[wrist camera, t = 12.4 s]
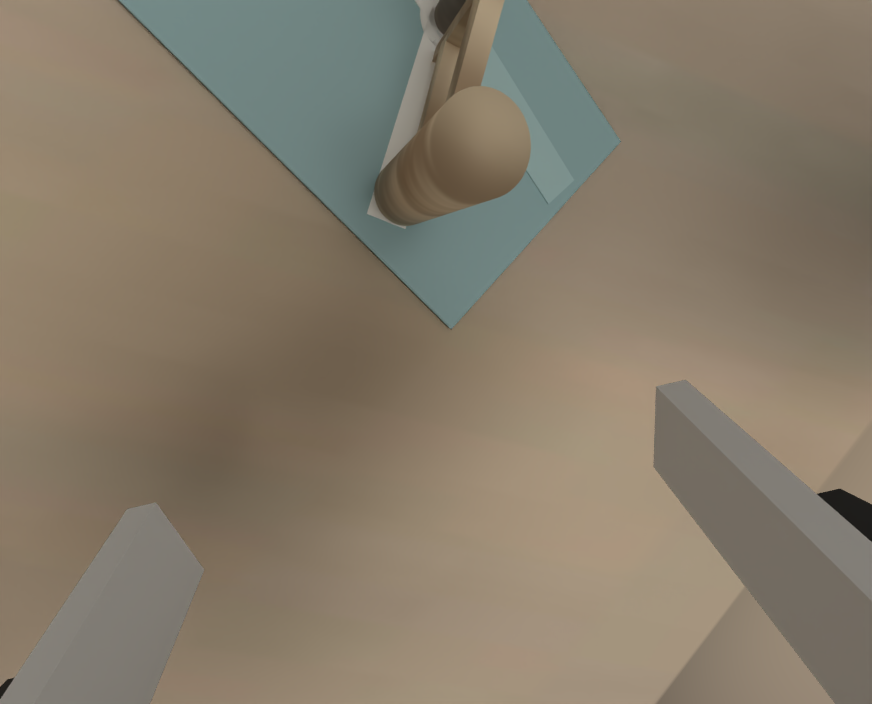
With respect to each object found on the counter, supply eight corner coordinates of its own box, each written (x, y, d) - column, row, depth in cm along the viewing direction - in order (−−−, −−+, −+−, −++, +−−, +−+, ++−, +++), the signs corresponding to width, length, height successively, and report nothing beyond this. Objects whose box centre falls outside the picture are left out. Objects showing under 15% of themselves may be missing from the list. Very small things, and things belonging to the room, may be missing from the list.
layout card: (616, 143, 30) (621, 141, 30) (449, 328, 29) (451, 329, 29) (352, -252, 22) (353, -264, 21) (103, -15, 21) (99, -21, 20)
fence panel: (413, 37, 24) (505, -140, 14) (471, 66, 26) (598, -75, 15) (367, 214, 25) (420, 178, 15) (425, 234, 27) (513, 214, 16)
